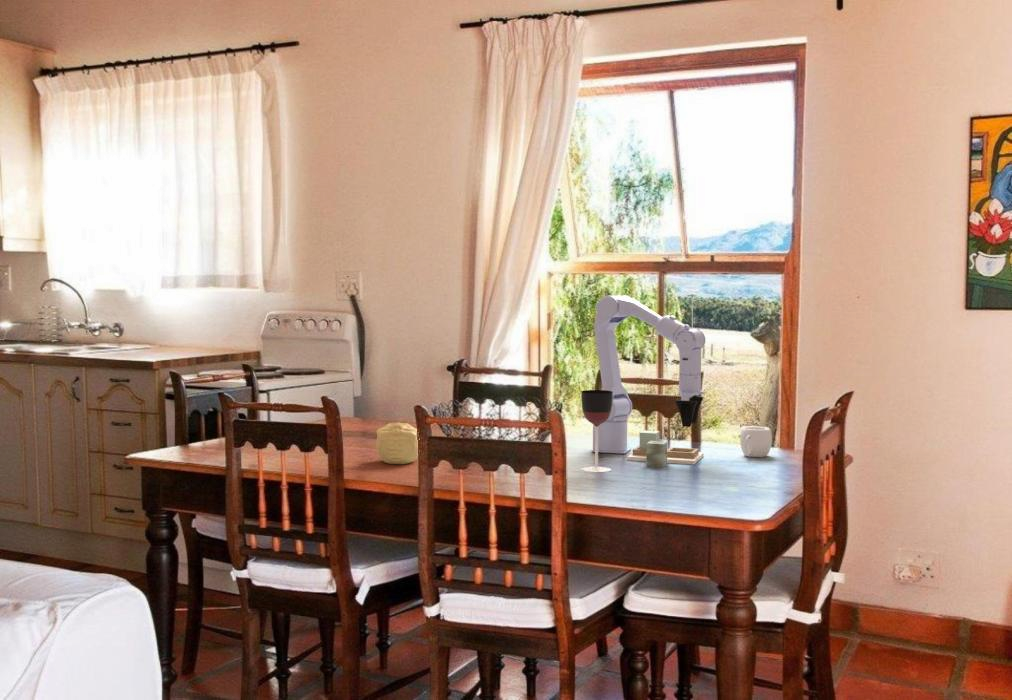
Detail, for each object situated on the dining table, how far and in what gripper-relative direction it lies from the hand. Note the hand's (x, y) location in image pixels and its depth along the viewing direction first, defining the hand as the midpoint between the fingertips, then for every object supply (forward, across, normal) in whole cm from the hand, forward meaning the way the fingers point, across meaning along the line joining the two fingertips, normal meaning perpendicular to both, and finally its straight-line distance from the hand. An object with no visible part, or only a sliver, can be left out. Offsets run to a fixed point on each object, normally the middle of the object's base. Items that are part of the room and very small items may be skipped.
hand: (689, 424), depth 280 cm
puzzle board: (+10, +2, +7) cm, 12 cm away
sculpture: (+10, -29, +72) cm, 78 cm away
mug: (+10, +12, -16) cm, 22 cm away
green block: (+10, -9, +7) cm, 15 cm away
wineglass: (+10, -21, +20) cm, 31 cm away
